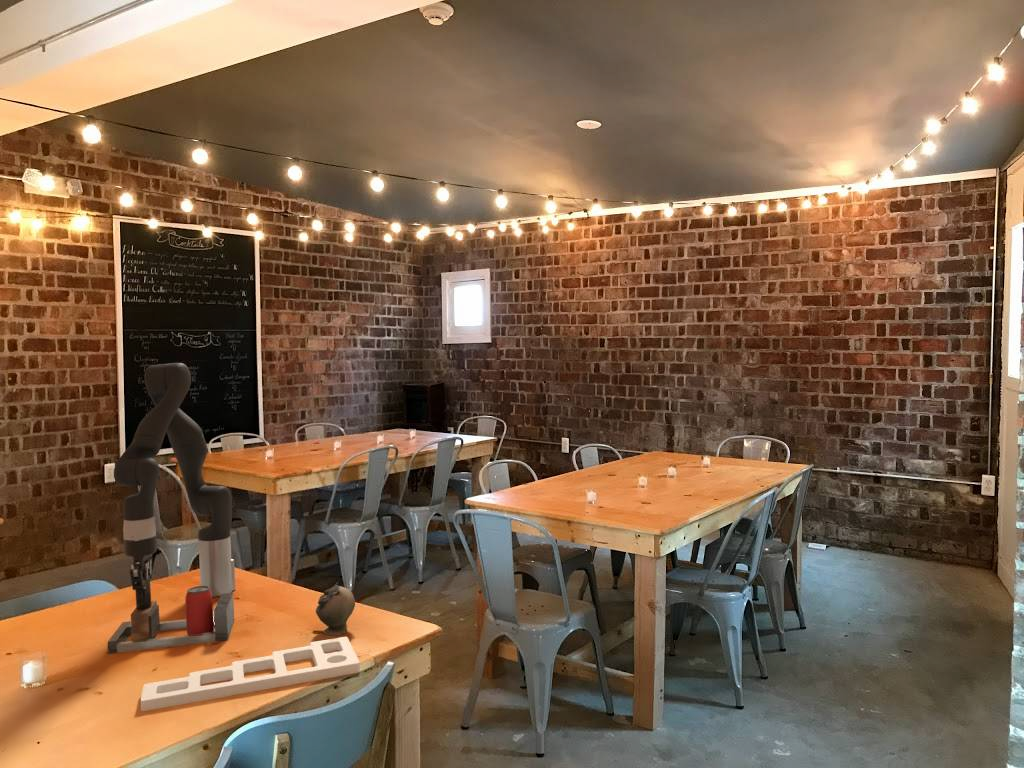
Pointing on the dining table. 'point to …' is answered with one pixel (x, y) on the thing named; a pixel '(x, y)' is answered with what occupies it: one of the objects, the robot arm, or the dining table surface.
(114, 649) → the frame
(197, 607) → the beer can
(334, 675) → the holder
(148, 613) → the sliding jaw
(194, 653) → the dining table surface
